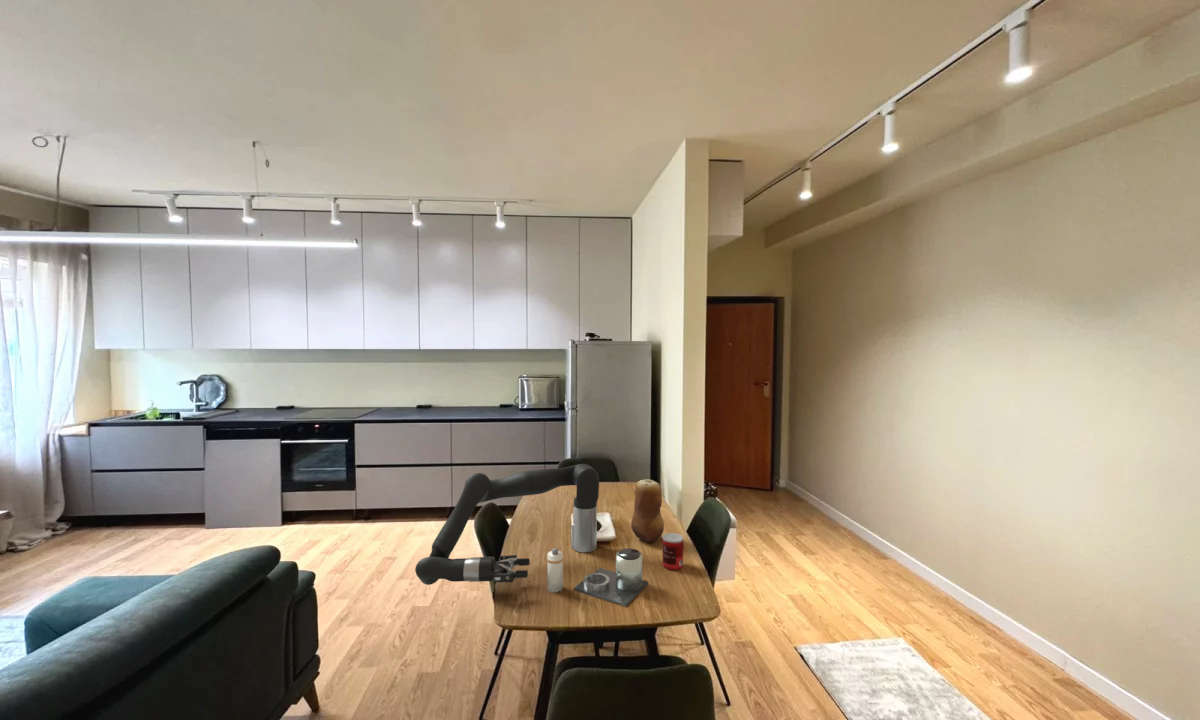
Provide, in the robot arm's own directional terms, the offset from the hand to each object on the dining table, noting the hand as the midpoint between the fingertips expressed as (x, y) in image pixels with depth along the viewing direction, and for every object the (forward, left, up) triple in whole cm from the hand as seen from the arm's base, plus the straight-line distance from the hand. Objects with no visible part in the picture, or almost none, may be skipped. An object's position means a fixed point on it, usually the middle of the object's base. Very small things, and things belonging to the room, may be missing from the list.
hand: (528, 567), depth 164 cm
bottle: (+7, +5, -7) cm, 12 cm away
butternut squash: (+17, +57, -8) cm, 60 cm away
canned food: (+35, +41, -8) cm, 54 cm away
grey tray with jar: (+23, +16, -7) cm, 29 cm away
